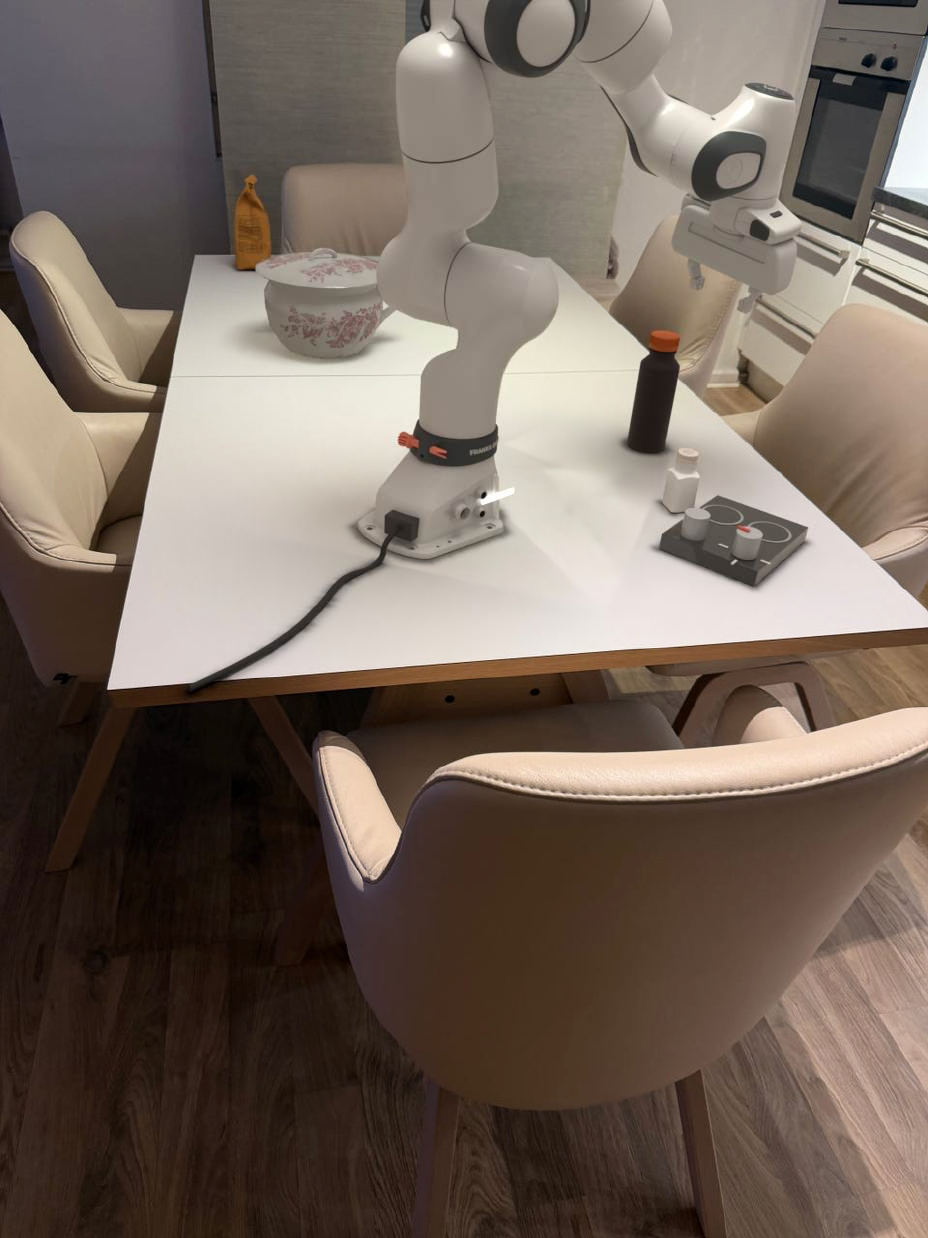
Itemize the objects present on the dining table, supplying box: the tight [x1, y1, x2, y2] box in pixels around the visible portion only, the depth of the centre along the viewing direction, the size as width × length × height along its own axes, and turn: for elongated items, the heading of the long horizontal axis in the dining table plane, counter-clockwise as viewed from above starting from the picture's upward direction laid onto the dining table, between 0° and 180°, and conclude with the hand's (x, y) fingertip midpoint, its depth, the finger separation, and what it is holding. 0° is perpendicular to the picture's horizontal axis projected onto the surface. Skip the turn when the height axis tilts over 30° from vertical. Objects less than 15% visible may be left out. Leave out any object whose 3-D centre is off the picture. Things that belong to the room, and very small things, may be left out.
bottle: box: [626, 330, 681, 454], centre depth 165 cm, size 7×7×20 cm
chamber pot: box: [255, 247, 397, 360], centre depth 198 cm, size 28×28×21 cm
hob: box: [658, 494, 809, 587], centre depth 141 cm, size 19×15×3 cm
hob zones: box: [681, 505, 791, 543], centre depth 139 cm, size 14×14×4 cm
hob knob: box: [731, 526, 763, 560], centre depth 133 cm, size 4×4×4 cm
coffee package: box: [233, 174, 272, 271], centre depth 251 cm, size 10×12×22 cm
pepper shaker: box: [661, 447, 701, 514], centre depth 148 cm, size 4×4×10 cm
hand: (719, 299), depth 148 cm, fingers open, 8 cm apart
